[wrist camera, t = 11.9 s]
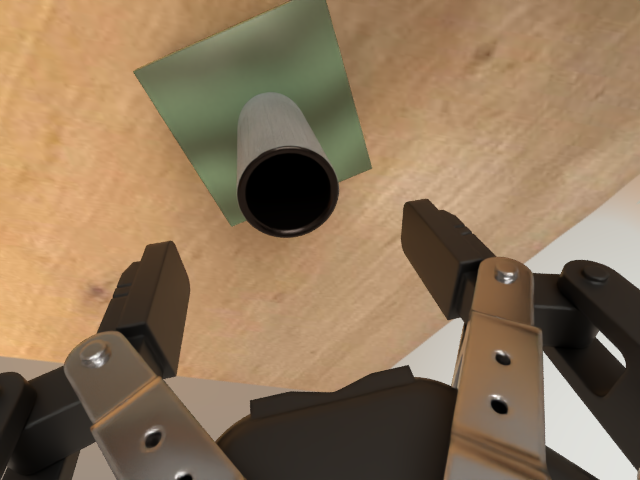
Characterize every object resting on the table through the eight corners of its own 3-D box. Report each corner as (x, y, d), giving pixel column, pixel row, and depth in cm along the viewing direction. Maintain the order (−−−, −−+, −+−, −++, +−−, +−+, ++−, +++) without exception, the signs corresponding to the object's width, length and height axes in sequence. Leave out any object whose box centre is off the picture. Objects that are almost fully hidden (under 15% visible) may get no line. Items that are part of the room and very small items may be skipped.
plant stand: (156, 56, 26) (132, 71, 20) (303, -10, 25) (322, -13, 19) (232, 188, 33) (231, 227, 27) (348, 139, 32) (372, 168, 27)
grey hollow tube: (304, 90, 22) (342, 143, 14) (304, 157, 25) (337, 234, 17) (233, 92, 22) (229, 148, 13) (241, 160, 24) (242, 243, 16)
